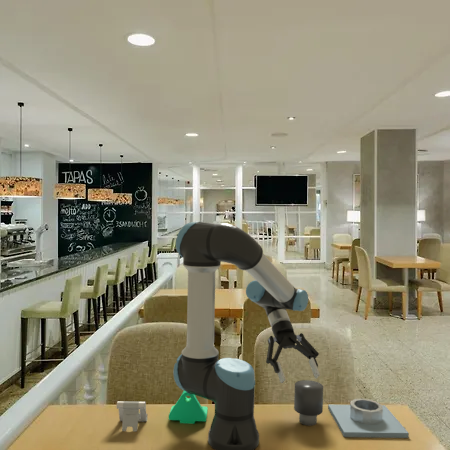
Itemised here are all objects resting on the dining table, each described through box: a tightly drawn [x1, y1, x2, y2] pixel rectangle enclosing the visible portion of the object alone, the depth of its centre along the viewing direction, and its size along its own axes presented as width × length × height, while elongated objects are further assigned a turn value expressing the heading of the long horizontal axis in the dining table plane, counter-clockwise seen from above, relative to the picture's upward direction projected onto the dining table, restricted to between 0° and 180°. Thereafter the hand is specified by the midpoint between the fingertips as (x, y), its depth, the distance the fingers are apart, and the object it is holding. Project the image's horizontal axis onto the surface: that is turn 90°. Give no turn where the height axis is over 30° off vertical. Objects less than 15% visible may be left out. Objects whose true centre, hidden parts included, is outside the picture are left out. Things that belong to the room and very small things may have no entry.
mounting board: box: [327, 403, 410, 439], centre depth 151 cm, size 20×20×2 cm
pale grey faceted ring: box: [349, 398, 383, 425], centre depth 151 cm, size 10×10×4 cm
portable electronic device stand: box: [116, 400, 148, 432], centre depth 145 cm, size 9×8×8 cm
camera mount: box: [168, 390, 209, 425], centre depth 151 cm, size 12×8×10 cm, turn 87°
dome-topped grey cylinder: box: [293, 379, 324, 426], centre depth 151 cm, size 9×9×12 cm
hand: (300, 379), depth 158 cm, fingers open, 13 cm apart
